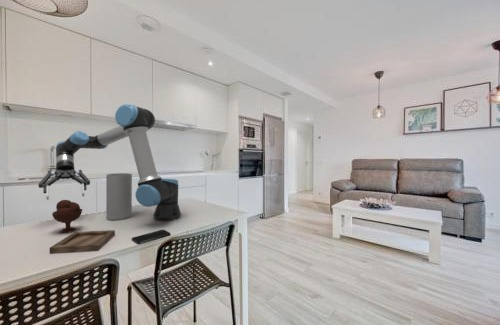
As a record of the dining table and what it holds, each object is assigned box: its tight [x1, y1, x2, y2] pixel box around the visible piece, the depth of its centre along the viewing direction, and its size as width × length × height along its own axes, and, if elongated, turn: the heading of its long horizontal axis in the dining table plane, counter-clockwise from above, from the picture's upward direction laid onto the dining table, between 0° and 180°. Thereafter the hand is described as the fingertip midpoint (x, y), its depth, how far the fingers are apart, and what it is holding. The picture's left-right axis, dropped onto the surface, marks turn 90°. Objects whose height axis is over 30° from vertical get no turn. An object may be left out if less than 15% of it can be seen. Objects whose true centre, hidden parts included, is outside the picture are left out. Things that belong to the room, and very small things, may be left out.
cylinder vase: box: [105, 172, 133, 221], centre depth 123 cm, size 12×12×25 cm
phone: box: [131, 229, 171, 245], centre depth 97 cm, size 8×1×15 cm
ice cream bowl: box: [51, 199, 83, 234], centre depth 101 cm, size 11×11×15 cm
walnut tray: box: [49, 229, 116, 255], centre depth 89 cm, size 16×16×2 cm
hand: (66, 196), depth 107 cm, fingers open, 13 cm apart
